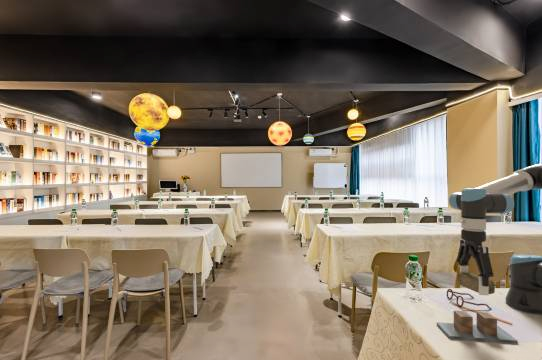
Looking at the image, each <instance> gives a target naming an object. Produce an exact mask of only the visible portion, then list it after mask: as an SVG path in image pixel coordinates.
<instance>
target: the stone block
mask: <svg viewBox="0 0 542 360" xmlns="http://www.w3.org/2000/svg"><path fill="white" fill-rule="evenodd" d="M478 275H479V274H476V273H473V272H469V273H467V272H466V273H463V272H461V273H460V272H458V274H457V281H456V282H457V284H459V285H460V286H462V287H464V288H466V289H468V290H471V291H473V292H475V293H478V294H479V276H478ZM495 292H496V287H495V283H494V281H493V280H491V279H489V295H492V294H495Z"/></svg>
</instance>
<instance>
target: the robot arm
mask: <svg viewBox="0 0 542 360" xmlns="http://www.w3.org/2000/svg"><path fill="white" fill-rule="evenodd" d="M530 190H542V163H541V162H540V163H536V164H532V165H530V166H526V167H524V168H521V169H518V170H515V171H513V172H511V174H510V175H508V176H505V177H503V178H499V179H496V180H495V181H492V182H489V183H485V184H483V185H480V186H478V187H475V188H473V187H472V188H471V187H470V188H469V187H468V188H467V187H466V188H463V189H462V190H461V191H457V192H452V193H451V194H450V195H449V198H448V204H449V206H450V207H451V208H452V209H455V210H459V211H461V213H460V214H461V216H460V218H461V219H460V221H459V222H460V224H461V225H460V227H461V230H460V236H461V239H460V240H459V249H458V252H457V257H456V262H457V263H458V265H459V273H461V272H463V273H466V272H467V273H470V272H469V269H470V268H469V266H470V265H469V261H470V260H471V258H473V259H474V261H475V263H476V266H477V269H478V272H479V274H477V275H478V276H479V293H478V295H479V296H489V295H490V294H489V280H490V278H491V277H492V278H493V277H494V271H493V268H492V262H491V259H490V258H491V257H490V255H489V247H488V246H483V243H485V242H486V241H487V232H486V230H487V214H500V215H501V214H508V213H510V212H512V211H513V210H514V208H515V200H514V198H513V197H512V196H511V195H513V194H515V193H518V192H527V191H530ZM509 269H510V270H509V271H510V273H509V274H510V275H509V276H510V277H509V278H510V281H509V282H510V283H509V284H510V287H509V288H508V289H509V290H508V291H507V293H506V296H505V304H506V305H507V306H509V307H511V308H513V309H515V310H518V311H522V312H526V313H529V314H536V315H542V255H534V254H513V255H512V256H511V257H510V262H509Z"/></svg>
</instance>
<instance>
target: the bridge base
mask: <svg viewBox="0 0 542 360" xmlns="http://www.w3.org/2000/svg"><path fill="white" fill-rule="evenodd" d="M436 326H437V327H438V328H439V329H440V330H441V331H442V332H443V333H444V334H445V335H446V337H447V338H448V339H449V340H462V341H463V340H464V341H478V342H490V343H506V344H519V341H518V339H516V338H515V337H514V336H512V335H511V334H509V333H508V332H507V331H506V330H504V329H503V328H501V326H498V318H497V317H495V316H494V315H492V314H491V313H489V312H486V311H485V312H483V311H476V324H474V317H473V316H472V315H470V313H468V312H467V311H466V310H453V323H452V322H450V323H449V322H436Z"/></svg>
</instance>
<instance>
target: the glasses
mask: <svg viewBox="0 0 542 360" xmlns="http://www.w3.org/2000/svg"><path fill="white" fill-rule="evenodd" d="M449 293H451V295H450V297H449ZM456 294H457V295H456ZM465 295H466V296H469V297H471V299H475V297H473V295H471V294H470V293H465V292H464V293H463V292H456V291H453V289H451V288H448V289H447V290H446V297H447V299H448V300H452V299H453V297H455V298H456V304H457V307H460V308H462V307H463V306H464V303H465V304H469V305H473V306H474V305H475V306H477V307H478V306H486V307H487V308H488V309H489V310H492V308H491V307H490V306H489V304H487V303H475V302H470V301H465V300H464V298H463V296H465ZM460 298H461V305H460V304H459V299H460Z"/></svg>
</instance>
